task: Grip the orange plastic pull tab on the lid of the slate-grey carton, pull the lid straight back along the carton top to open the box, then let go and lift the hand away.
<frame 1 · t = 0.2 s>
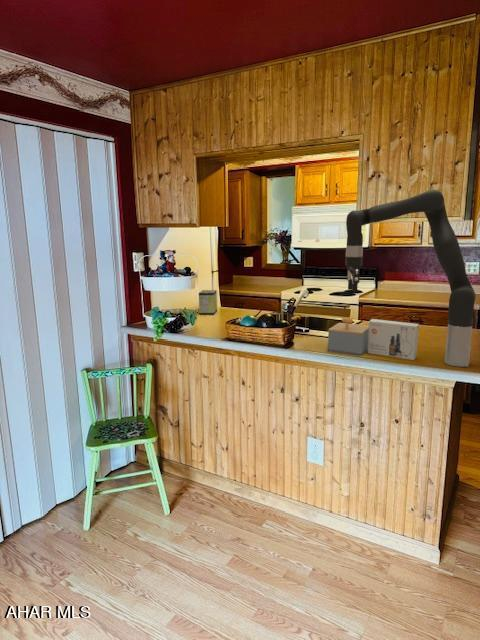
hand: (352, 290, 199), 29 cm above the countertop, fingers open, 8 cm apart
carton lid: (350, 322, 206), point 13 cm above the countertop, slide at 0.0 cm
skincare box: (391, 356, 197), on the countertop
carton: (349, 349, 208), on the countertop
protein box: (208, 313, 304), on the countertop
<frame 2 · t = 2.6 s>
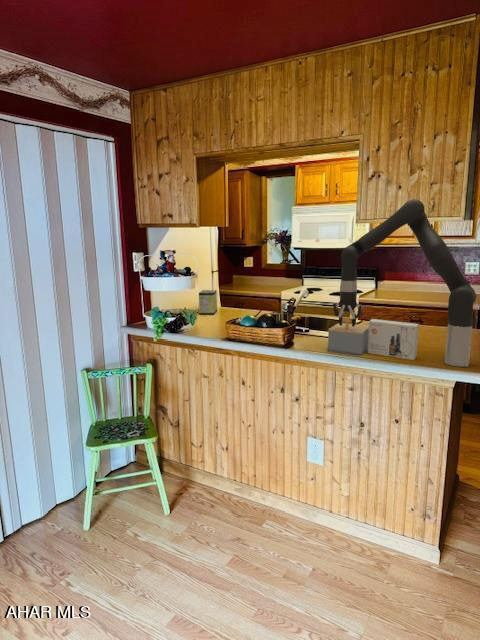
hand: (347, 325, 201), 13 cm above the countertop, fingers closed on carton lid, 5 cm apart
carton lid: (350, 322, 206), point 13 cm above the countertop, slide at 0.0 cm, touching gripper
everything else where it was.
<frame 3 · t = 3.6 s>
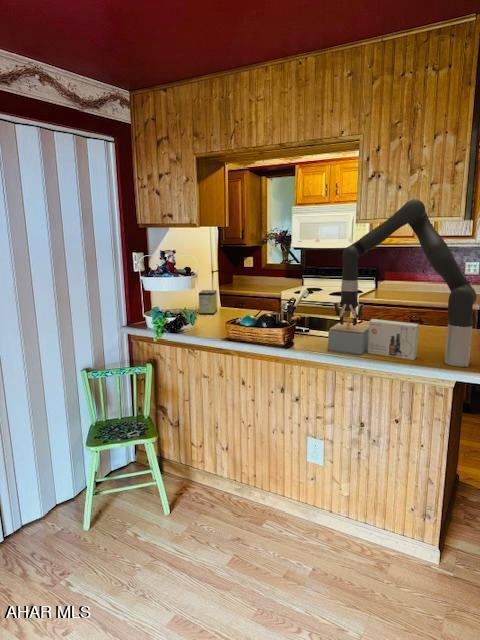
hand: (348, 324, 203), 13 cm above the countertop, fingers closed on carton lid, 5 cm apart
carton lid: (351, 322, 207), point 13 cm above the countertop, slide at 1.7 cm, touching gripper
everything else where it was.
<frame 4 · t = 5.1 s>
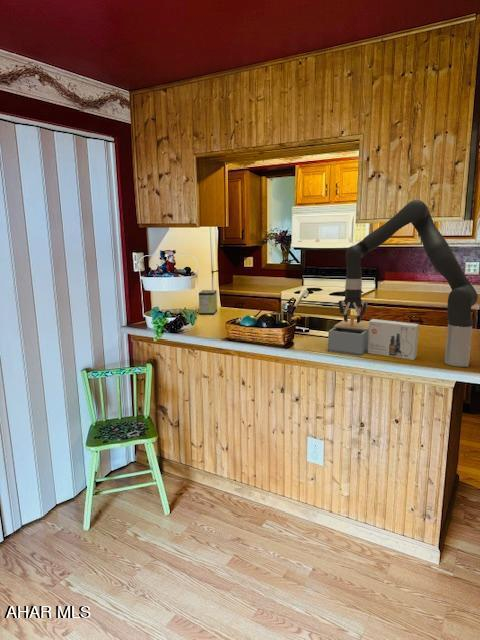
hand: (352, 322, 208), 13 cm above the countertop, fingers closed on carton lid, 5 cm apart
carton lid: (355, 319, 212), point 13 cm above the countertop, slide at 8.1 cm, touching gripper
everything else where it was.
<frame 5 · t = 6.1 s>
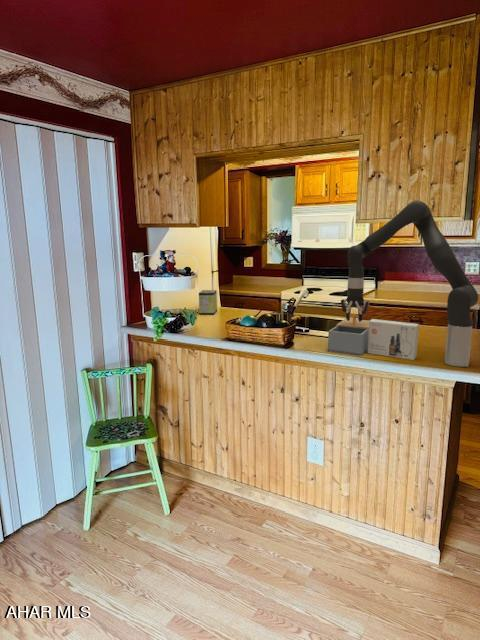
hand: (354, 320, 211), 13 cm above the countertop, fingers closed on carton lid, 5 cm apart
carton lid: (357, 318, 215), point 13 cm above the countertop, slide at 11.8 cm, touching gripper
everything else where it was.
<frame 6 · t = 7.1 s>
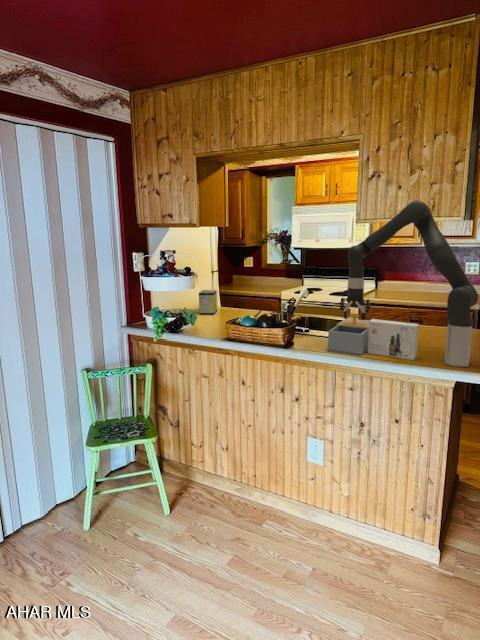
hand: (354, 319, 211), 14 cm above the countertop, fingers open, 8 cm apart
carton lid: (357, 318, 216), point 13 cm above the countertop, slide at 11.9 cm
everything else where it was.
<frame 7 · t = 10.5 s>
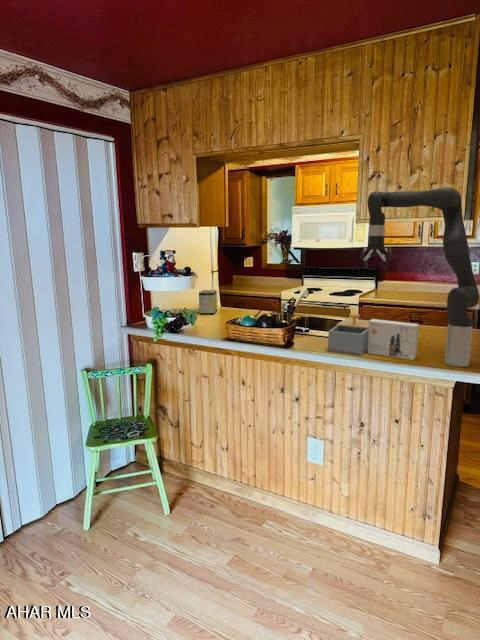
hand: (374, 268, 209), 38 cm above the countertop, fingers open, 8 cm apart
nothing on the countertop moved.
at the end: carton lid slide at 11.9 cm; the gripper is holding nothing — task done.
